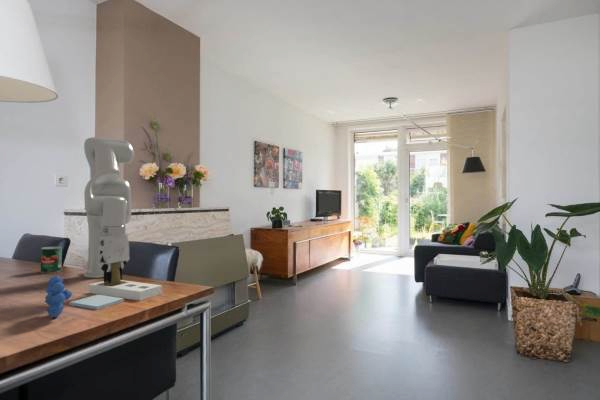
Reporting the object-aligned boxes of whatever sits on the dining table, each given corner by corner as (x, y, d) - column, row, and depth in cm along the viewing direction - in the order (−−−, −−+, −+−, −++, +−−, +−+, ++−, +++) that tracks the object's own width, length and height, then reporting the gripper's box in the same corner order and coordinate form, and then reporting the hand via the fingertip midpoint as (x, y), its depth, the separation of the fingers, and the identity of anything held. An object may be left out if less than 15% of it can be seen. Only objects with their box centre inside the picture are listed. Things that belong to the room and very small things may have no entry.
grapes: (77, 319, 102) (78, 276, 102) (49, 324, 97) (49, 279, 97) (67, 309, 110) (68, 270, 110) (40, 314, 106) (41, 273, 106)
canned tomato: (41, 274, 160) (41, 249, 160) (39, 271, 166) (39, 247, 166) (62, 272, 165) (63, 247, 165) (60, 269, 171) (60, 246, 171)
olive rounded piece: (114, 292, 129) (114, 261, 129) (99, 291, 131) (99, 260, 130) (125, 288, 135) (126, 258, 135) (111, 287, 136) (111, 257, 136)
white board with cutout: (88, 292, 130) (88, 284, 130) (112, 286, 139) (112, 278, 139) (140, 300, 121) (140, 291, 121) (161, 293, 131) (162, 285, 131)
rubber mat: (69, 305, 115) (69, 301, 115) (97, 297, 124) (97, 294, 124) (96, 309, 111) (97, 306, 111) (123, 301, 120) (123, 298, 120)
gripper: (101, 233, 124) (100, 287, 124) (139, 229, 139) (138, 277, 139) (85, 232, 126) (84, 284, 127) (124, 228, 142) (123, 275, 142)
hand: (112, 280), depth 133 cm, fingers closed on olive rounded piece, 3 cm apart
